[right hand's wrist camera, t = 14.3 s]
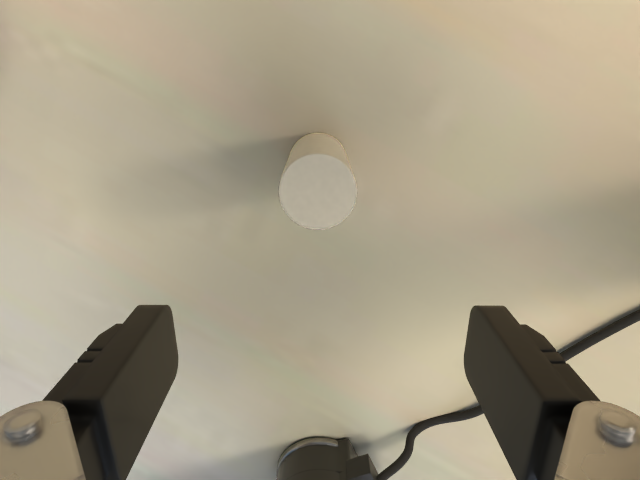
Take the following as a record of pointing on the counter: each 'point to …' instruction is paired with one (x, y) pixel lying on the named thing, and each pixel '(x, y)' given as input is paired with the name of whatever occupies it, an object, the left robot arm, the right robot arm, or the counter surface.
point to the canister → (317, 183)
